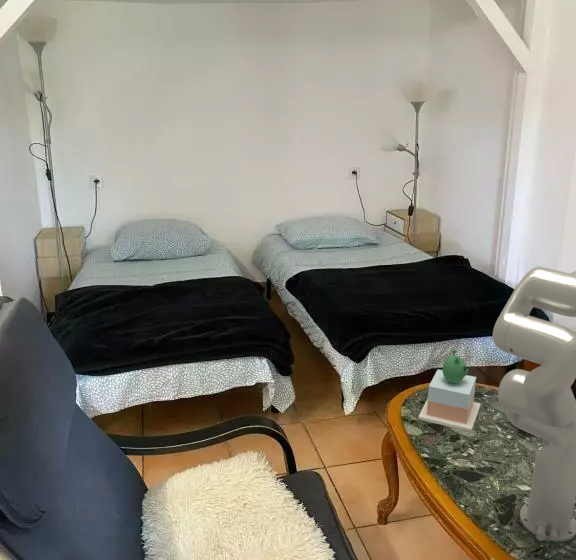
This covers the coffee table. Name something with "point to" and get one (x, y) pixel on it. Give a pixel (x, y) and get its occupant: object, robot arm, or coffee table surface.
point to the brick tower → (451, 403)
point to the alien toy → (454, 368)
